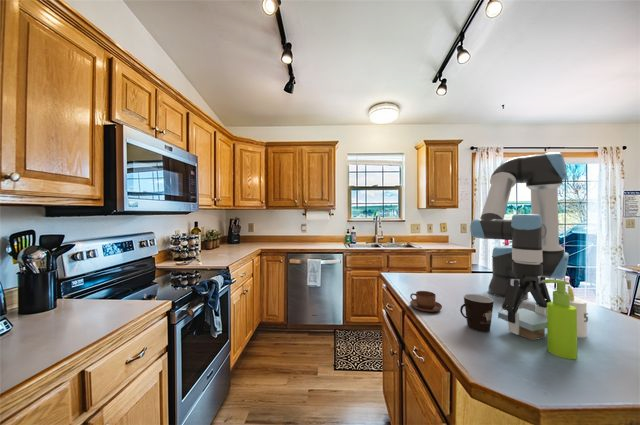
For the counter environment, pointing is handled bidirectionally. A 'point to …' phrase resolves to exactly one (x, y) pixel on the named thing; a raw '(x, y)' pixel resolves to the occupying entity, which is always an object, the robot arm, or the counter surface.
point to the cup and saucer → (425, 301)
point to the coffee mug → (478, 312)
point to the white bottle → (579, 314)
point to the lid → (528, 319)
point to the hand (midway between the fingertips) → (527, 329)
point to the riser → (531, 333)
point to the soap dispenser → (561, 323)
